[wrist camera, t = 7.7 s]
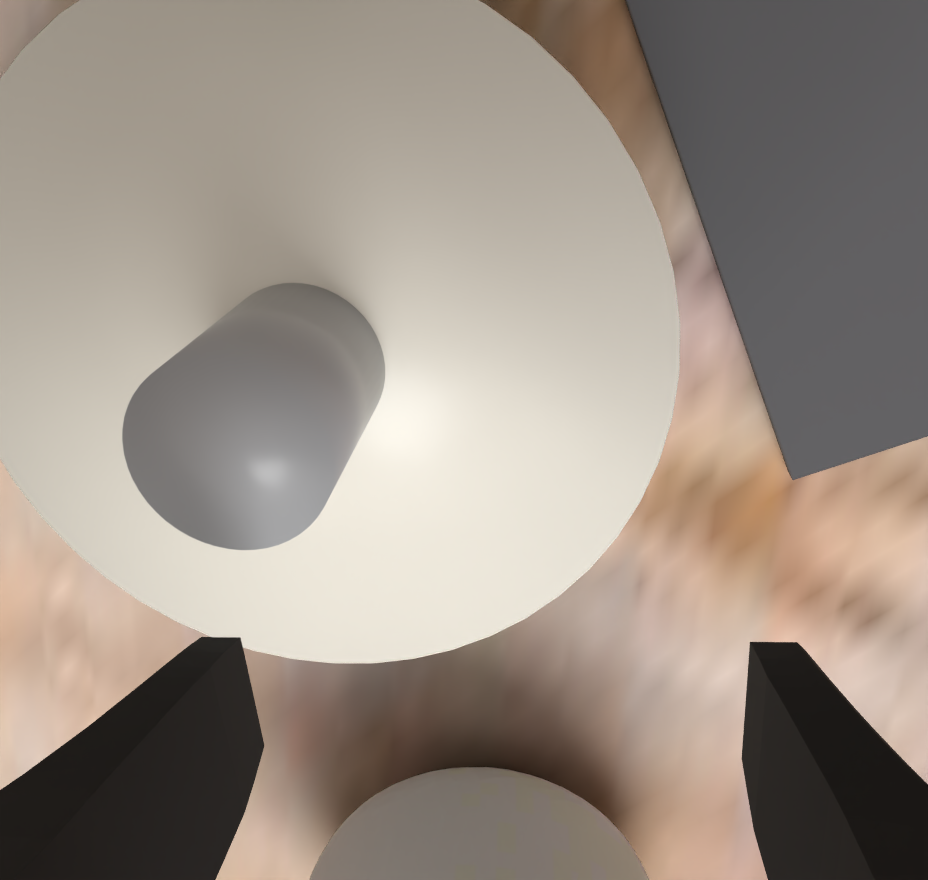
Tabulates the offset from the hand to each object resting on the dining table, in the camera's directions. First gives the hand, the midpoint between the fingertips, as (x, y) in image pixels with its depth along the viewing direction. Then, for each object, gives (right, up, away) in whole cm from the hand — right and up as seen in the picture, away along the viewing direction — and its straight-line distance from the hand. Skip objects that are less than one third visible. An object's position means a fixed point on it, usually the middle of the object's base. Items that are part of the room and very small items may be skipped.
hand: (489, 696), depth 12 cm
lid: (-3, +5, +5) cm, 8 cm away
